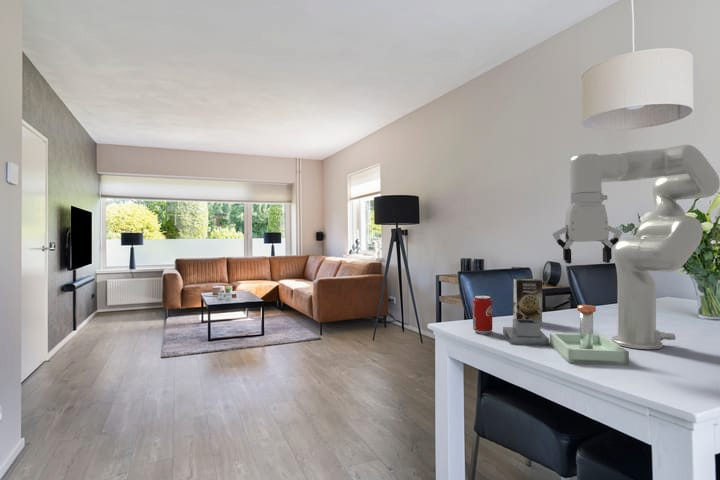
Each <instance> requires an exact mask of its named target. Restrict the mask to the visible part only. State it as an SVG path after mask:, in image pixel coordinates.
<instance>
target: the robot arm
mask: <svg viewBox="0 0 720 480" xmlns="http://www.w3.org/2000/svg"><path fill="white" fill-rule="evenodd" d="M647 179H655V181H654V183H653V185H652V198H653V205H654V208H653V210H652V212H651V213H650V214H649V215H648V216H647V217H646V218H645V219H644V220H643V222H642V223H641V224H640V225H639V226H638V227H637V230H636V233H635V237H628V238H623V239H620V238H621V236H622V234H623V231H621V230H619V229H618V228H616V227H612V226H611V225H609V220H608V219H609V218H608V213H607V209H606V205H605V204H603V203H604V202H605V201H607V200H608V195H607V194H604V193H603V192H602V189H603V188H602V187H603V186H602V183H611V182H612V183H613V182H630V181H637V180H638V181H640V180H647ZM569 180H570V181H569V185H570V186H569V187H570V189H569V191H570V205H568V206H567V207H566V211H565V220H564V227H562V228H560V229H558V230H556V231H554V232H553V233H552V234H551V236H552V238H554V241H555V242H556V243H557V244H558V245H559V246H560V248H562V253H563V254H562V255H563V256H562V259H563V261H564V262H565V264H570V265H571V264H572V249H571V248H570V247H571V246H572V245H573V243H574V242H577V243H578V242H579V243H580V242H581V243H583V242H584V243H585V242H600V243H601V244H602V245H603V247H602V263H605V264H606V263H607V264H610V263H611V260H612V254H613V259H614V263H615V267H616V268H615V269H616V275H617V276H616V278H617V279H616V280H617V335H614V336H612V337H611V341H612V342H614V343H616V344H617V345H619V346H621V347H625V348H629V349H630V348H631V349H637V350H659V349H661V348H663V347H664V346H663V344H664V343H663V341H664V340H667V341H675V340H676V334H675V333H673V332H665V331H659V330H658V329H657V286H656V282H655V280H654V278H653V276H652V274H651V273H650V272H662V273H664V272H665V273H672V272H677V271H678V270H680V269H681V268H682V267H683V266H684V265H685V264H686V262H688V260H689V259H690V258H691V256H692V255H693V253H695V251H696V249H697V248H698V247H699V245H700V244H701V242H702V240H703V233H704V232H703V225H702V224H701V222H700V220H698V219H697V218H695V217H694V216H690V215H686V212H685V210H684V208H683V207H682V206H681V205H680V204H679V203H677V200H678V201H680V200H682V201H683V200H692V199H693V200H694V199H706V198H710V197H712V196H714V195H715V194H716V193H718V192H719V189H720V177H719V175H718V173H717V171H716V170H715V168H713V166H712V164H711V163H710V162H709V161H708V159H707V158H706V156H705V155H704V154H703V153H702V152H701V151H700V150H699V149H698V148H697V147H695V146H693V145H691V144H682V145H677V146H670V147H664V148H656V149H645V150H634V151H633V150H631V151H627V152H622V153H608V154H598V153H581V154H577V155H576V154H575V155H574V156H572V157H571V158H570V161H569ZM610 233H611V234H613V236H612V238H611V239H610V240H609V235H610ZM563 234H564V239H565V241H564V240H562V237H561V235H563ZM619 239H620V240H619ZM612 248H613V253H612Z"/></svg>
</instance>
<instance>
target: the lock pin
mask: <svg viewBox="0 0 720 480" xmlns="http://www.w3.org/2000/svg"><path fill="white" fill-rule="evenodd" d="M576 309H577V311H578V312H579V334H580V349H593V334H594V313H595V312H596V310H597V308H596V306H595V305H590V304H578V305H577V308H576Z"/></svg>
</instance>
